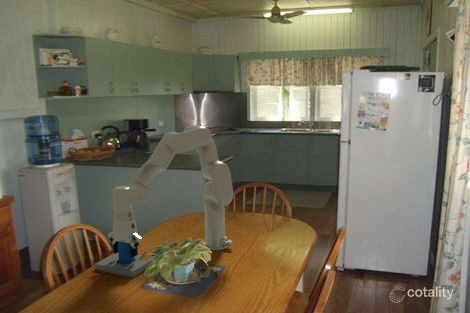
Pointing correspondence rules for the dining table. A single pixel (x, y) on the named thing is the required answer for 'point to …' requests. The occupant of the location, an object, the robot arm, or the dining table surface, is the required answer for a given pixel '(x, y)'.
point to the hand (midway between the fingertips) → (125, 254)
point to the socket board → (122, 265)
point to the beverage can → (125, 253)
